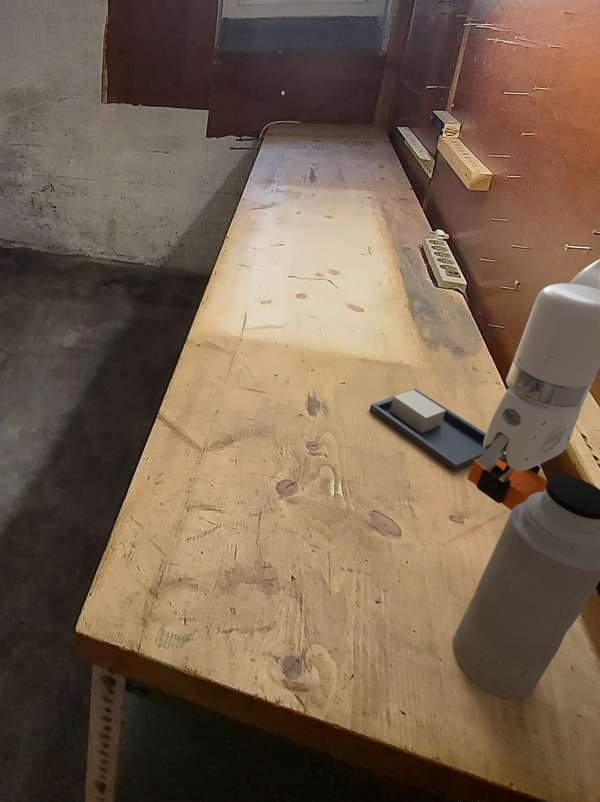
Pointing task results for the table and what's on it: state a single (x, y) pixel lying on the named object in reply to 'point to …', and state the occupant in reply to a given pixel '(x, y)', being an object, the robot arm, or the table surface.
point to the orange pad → (513, 483)
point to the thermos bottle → (532, 588)
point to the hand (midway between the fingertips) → (503, 487)
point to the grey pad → (417, 411)
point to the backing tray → (439, 436)
